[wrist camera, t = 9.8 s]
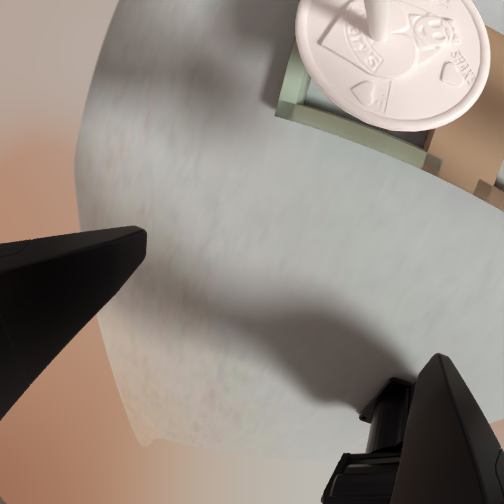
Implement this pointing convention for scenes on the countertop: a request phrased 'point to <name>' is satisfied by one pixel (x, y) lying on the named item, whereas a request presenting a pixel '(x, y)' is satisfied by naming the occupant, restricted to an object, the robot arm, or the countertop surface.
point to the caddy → (438, 139)
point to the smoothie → (396, 58)
